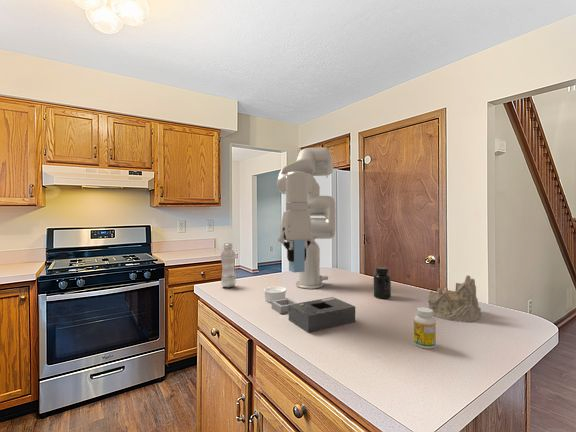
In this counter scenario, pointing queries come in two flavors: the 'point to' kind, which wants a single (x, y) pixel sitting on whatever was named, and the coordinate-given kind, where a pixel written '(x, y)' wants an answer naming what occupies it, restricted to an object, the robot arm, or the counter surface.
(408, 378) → the counter surface
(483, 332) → the counter surface
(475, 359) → the counter surface
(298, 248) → the plug
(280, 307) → the frame
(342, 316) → the port panel
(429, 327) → the supplement bottle
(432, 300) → the ceramic cottage
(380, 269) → the supplement bottle
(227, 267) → the plastic bottle
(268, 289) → the ramekin
